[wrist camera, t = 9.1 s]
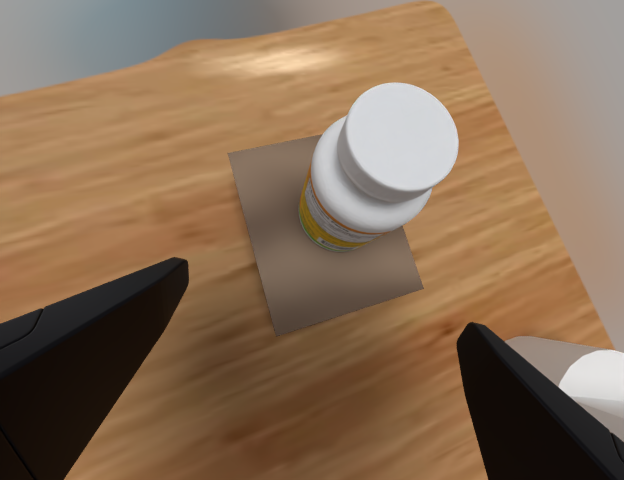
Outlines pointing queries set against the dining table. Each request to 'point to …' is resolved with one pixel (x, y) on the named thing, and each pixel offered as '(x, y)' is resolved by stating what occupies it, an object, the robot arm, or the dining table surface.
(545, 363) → the base with upright slab
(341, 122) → the supplement bottle
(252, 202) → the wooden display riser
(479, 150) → the dining table surface
